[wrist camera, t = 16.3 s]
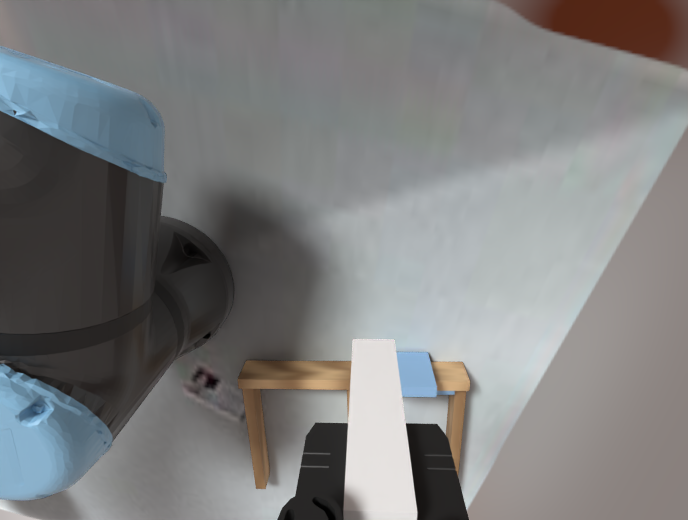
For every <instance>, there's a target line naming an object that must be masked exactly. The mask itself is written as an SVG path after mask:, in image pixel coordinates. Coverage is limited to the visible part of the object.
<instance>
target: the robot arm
mask: <svg viewBox="0 0 688 520" xmlns="http://www.w3.org/2000/svg"><path fill="white" fill-rule="evenodd" d="M164 134H165V130H164V123H163V120H162V117H161V115H160V113H159V111H158V110H157V109H156V107H155V106H154V105H153V104H152V103H151V102H150V101H149V100H147V99H146V98H144V97H143V96H141V95H139V94H137V93H135V92H132V91H130V90H128V89H125V88H122V87H120V86H117V85H114V84H111V83H109V82H106V81H103V80H100V79H97V78H95V77H92V76H89V75H86V74H83V73H80V72H77V71H74V70H71V69H68V68H65V67H62V66H59V65H57V64H54V63H51V62H48V61H45V60H42V59H39V58H36V57H33V56H30V55H27V54H24V53H21V52H18V51H15V50H12V49H9V48H6V47H3V46H0V499H3V500H22V501H24V500H35V499H41V498H45V497H48V496H50V495H52V494H55V493H58V492H61V491H64V490H66V489H68V488H69V487H71V486H72V485H74V484H75V483H76V482H77V481H78V480H80V479H81V477H82V476H83V475H84V474H85V473H86V472H87V471H88V470H89V469H90V468H91V467H92V466H93V465H94V464H95V463H96V462H97V460H98V459H99V458H100V457H101V456H102V455H104V454H105V453H106V452H107V451H108V450H109V449H110V447H111V446H112V442H113V440H114V439H115V438H116V436H117V435H118V434H119V432H120V431H121V430H122V428H123V427H124V426H125V424H126V423H127V422H128V421H129V419H130V418H131V417H132V415H133V414H134V413H135V411H136V410H137V409H138V407H139V406H140V405H141V403H142V402H143V401H144V399H145V398H146V397H147V395H148V394H149V393H150V391H151V390H152V389H153V387H154V386H155V385H156V383H157V382H158V381H159V380H160V378H161V377H162V376H163V374H164V373H165V372H166V370H167V369H168V368H169V366H170V365H171V364H172V362H173V361H174V360H175V359H177V358H179V357H181V356H183V355H184V354H186V353H188V352H190V351H192V350H194V349H196V348H198V347H199V346H201V345H203V344H204V343H206V342H207V341H208V340H209V339H211V338H212V337H213V336H214V335H215V334H216V332H217V331H218V330H219V329H220V327H221V326H222V324H223V323H224V321H225V320H226V318H227V316H228V315H229V312H230V310H231V307H232V303H233V298H234V285H233V278H232V274H231V271H230V268H229V266H228V264H227V262H226V260H225V258H224V256H223V254H222V253H221V252H220V250H219V249H218V248H217V246H216V245H215V244H214V243H213V242H212V241H211V240H210V239H209V238H208V237H207V236H206V235H204V234H203V233H202V232H200V231H199V230H198V229H196V228H194V227H193V226H191V225H189V224H187V223H185V222H182V221H180V220H177V219H174V218H170V217H164V216H161V207H162V196H163V185H164V183H166V181H167V175H166V173H165V172H164ZM277 520H469V518H468V514H467V510H466V507H465V503H464V499H463V495H462V491H461V487H460V483H459V479H458V475H457V471H456V467H455V463H454V460H453V457H452V452H451V448H450V444H449V440H448V437H447V436H446V435H445V434H444V432H443V431H442V430H441V428H440V427H439V426H438V424H407V423H406V422H405V414H404V407H403V399H402V391H401V384H400V376H399V369H398V361H397V353H396V346H395V339H353V344H352V362H351V380H350V398H349V417H348V423H315V425H314V426H313V427H312V429H311V430H310V432H309V433H308V434H307V436H306V440H305V446H304V451H303V457H302V462H301V468H300V473H299V479H298V484H297V490H296V495H295V497H293V498H291V499H290V500H289V501H288V502H287V504H286V505H285V506H284V507H283V508H282V510H281V512H280V515H279V517H278V519H277Z"/></svg>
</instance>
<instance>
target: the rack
mask: <svg viewBox="0 0 688 520" xmlns="http://www.w3.org/2000/svg"><path fill="white" fill-rule="evenodd" d="M351 362H352V361H249V360H246V362H245V364H244V367H243V369H242V371H241V373H240V375H239V377H238V379H237V380H238V387H239V389H242V391H243V398H244V405H245V413H246V420H247V427H248V434H249V441H250V449H251V456H252V463H253V470H254V477H255V485H256V489H266V485H267V481H268V477H269V474H270V468H269V460H268V451H267V443H266V435H265V426H264V418H263V410H262V402H261V393H260V389H329V390H347V405H348V417H349V398H350V380H351ZM431 366H432V370H433V374H434V377H435V381H436V385H437V395H449V402H448V415H447V427H446V436H447V437H448V440H449V444H450V448H451V452H452V457H453V460H454V463H455V467H456V471H457V475H458V472H459V461H460V451H461V441H462V431H463V420H464V410H465V400H466V391H469V388H470V380H469V377H468V375H467V372H466V370H465V367H464V365H463V362H431Z"/></svg>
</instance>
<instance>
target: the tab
mask: <svg viewBox="0 0 688 520" xmlns="http://www.w3.org/2000/svg"><path fill="white" fill-rule="evenodd" d="M396 353H397V361H398V369H399V376H400V384H401V391H402V397H436V395H437V385H436V381H435V377H434V374H433V370H432V366H431V362H430V359H429V355H428V352H396Z"/></svg>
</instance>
